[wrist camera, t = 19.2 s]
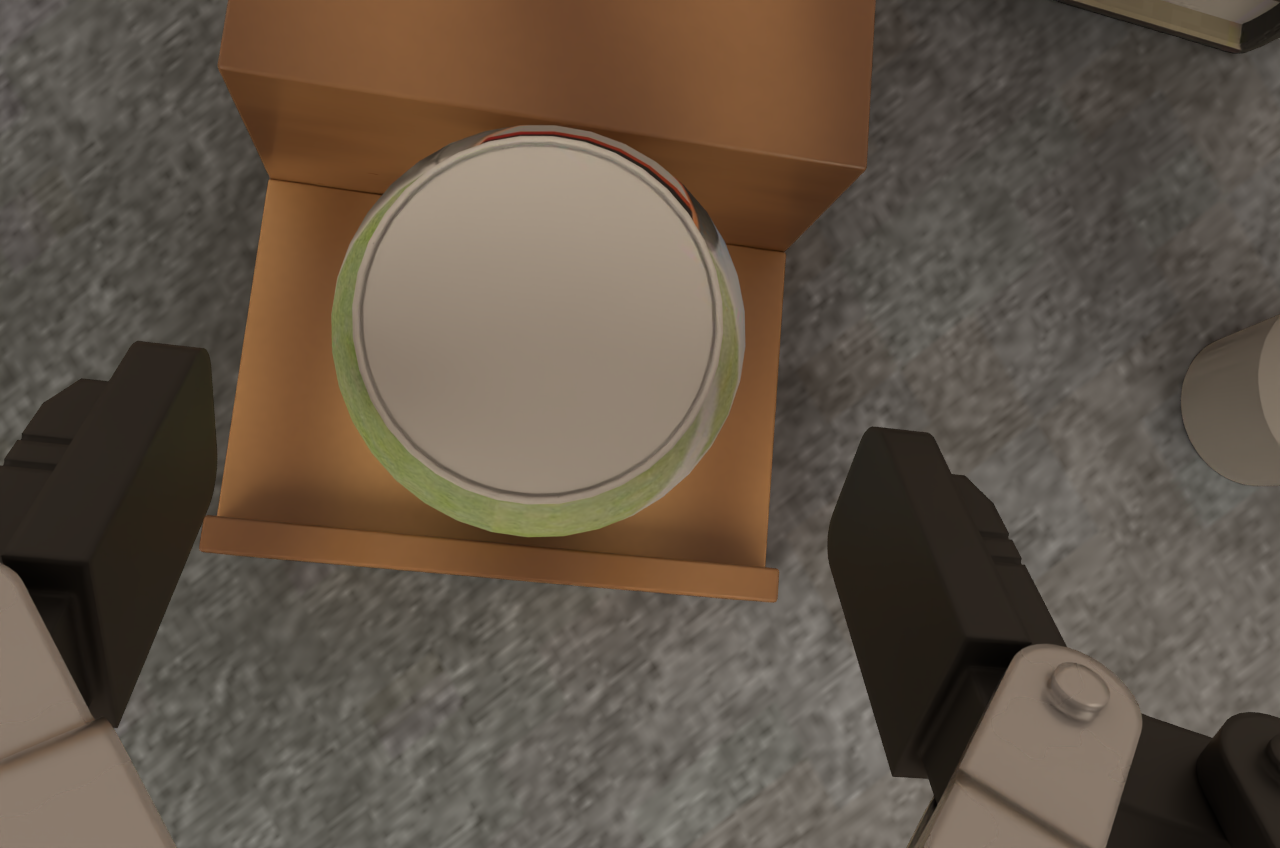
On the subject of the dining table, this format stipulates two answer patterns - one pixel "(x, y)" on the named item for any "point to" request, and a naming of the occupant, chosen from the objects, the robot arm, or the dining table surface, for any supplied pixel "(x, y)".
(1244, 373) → the cup
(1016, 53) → the dining table surface
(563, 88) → the wooden step stand
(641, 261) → the beverage can
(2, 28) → the dining table surface
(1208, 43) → the book
